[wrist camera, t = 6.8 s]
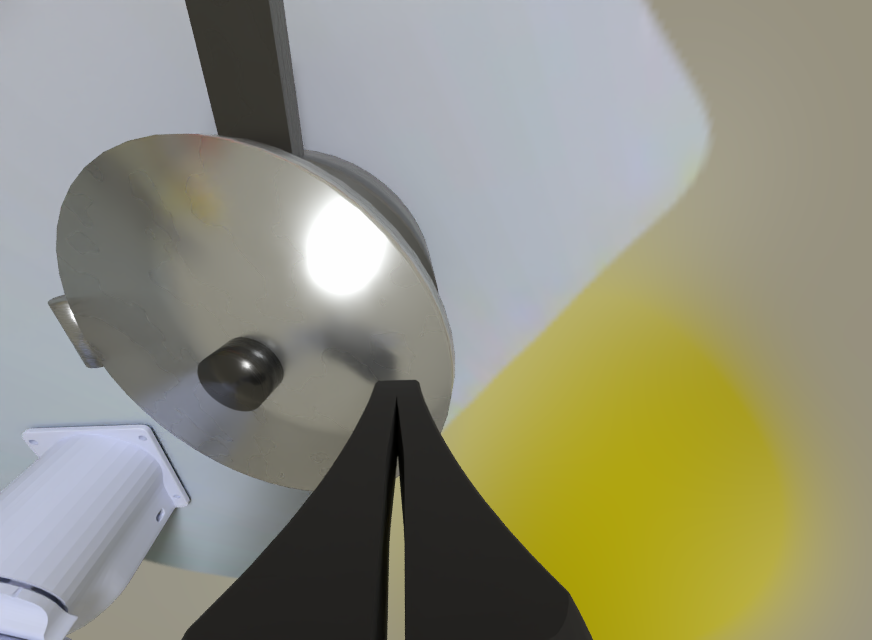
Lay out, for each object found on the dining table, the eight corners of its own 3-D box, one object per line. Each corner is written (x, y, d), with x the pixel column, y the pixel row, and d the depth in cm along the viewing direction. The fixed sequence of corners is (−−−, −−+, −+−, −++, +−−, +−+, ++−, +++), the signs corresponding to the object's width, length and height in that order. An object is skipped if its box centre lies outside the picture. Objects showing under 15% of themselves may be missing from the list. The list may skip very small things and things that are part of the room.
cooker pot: (428, 371, 23) (434, 425, 19) (223, 376, 22) (179, 435, 17) (444, 2, 14) (464, -62, 9) (78, -34, 12) (-102, -131, 8)
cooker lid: (443, 495, 16) (435, 546, 14) (156, 439, 18) (113, 476, 16) (476, 149, 8) (469, 150, 6) (-19, 121, 10) (-141, 116, 8)
